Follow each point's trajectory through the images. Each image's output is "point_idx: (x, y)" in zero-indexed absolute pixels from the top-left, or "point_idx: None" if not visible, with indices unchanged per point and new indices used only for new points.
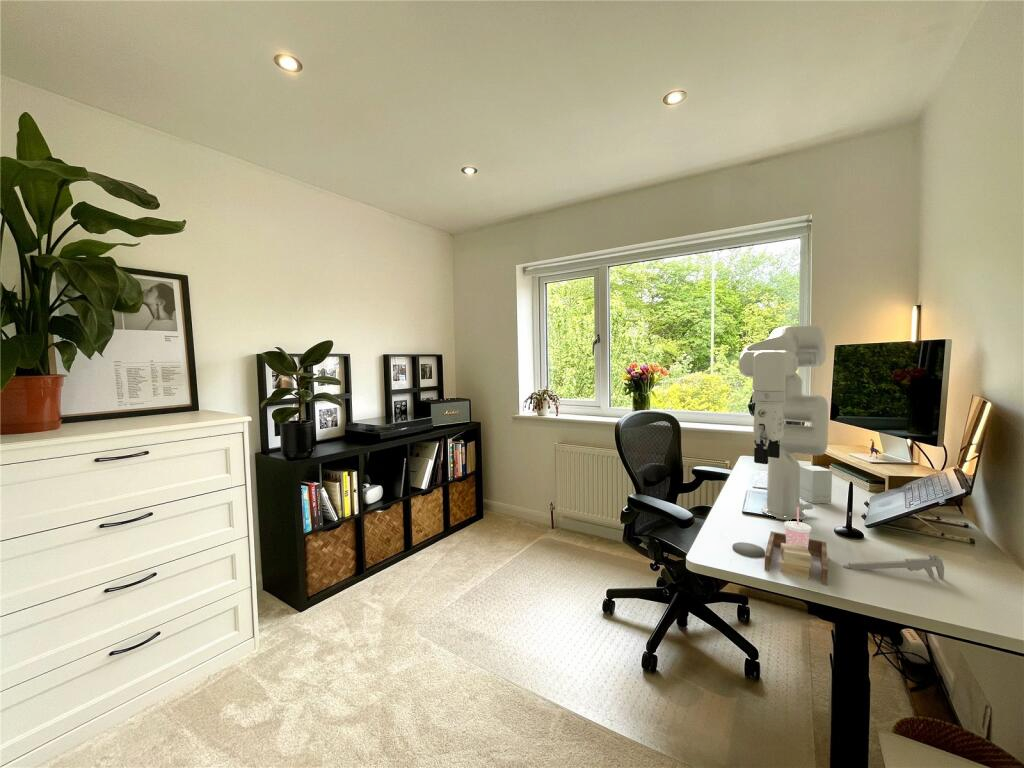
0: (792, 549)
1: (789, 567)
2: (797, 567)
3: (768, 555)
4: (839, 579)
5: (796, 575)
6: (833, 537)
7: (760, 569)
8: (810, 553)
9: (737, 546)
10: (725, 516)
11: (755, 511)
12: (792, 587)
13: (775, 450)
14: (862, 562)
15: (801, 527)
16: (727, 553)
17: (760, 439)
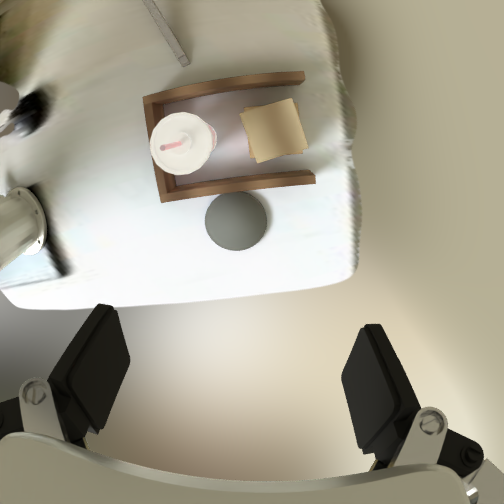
0: (281, 135)
1: None
2: None
3: (314, 176)
4: (254, 62)
5: None
6: (57, 121)
7: None
8: None
9: (241, 241)
10: (103, 294)
11: (44, 259)
12: (349, 127)
13: (98, 357)
14: (168, 39)
15: (189, 132)
16: (278, 248)
17: (488, 467)
